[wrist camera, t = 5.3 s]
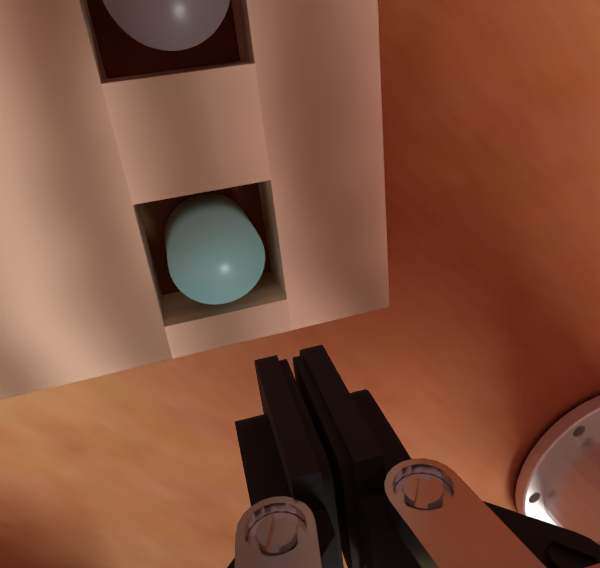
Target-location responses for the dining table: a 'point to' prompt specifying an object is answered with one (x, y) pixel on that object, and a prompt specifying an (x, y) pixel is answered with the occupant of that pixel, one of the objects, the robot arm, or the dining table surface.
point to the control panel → (182, 184)
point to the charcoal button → (168, 21)
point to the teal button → (213, 249)
